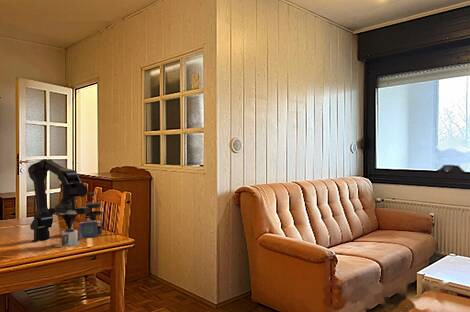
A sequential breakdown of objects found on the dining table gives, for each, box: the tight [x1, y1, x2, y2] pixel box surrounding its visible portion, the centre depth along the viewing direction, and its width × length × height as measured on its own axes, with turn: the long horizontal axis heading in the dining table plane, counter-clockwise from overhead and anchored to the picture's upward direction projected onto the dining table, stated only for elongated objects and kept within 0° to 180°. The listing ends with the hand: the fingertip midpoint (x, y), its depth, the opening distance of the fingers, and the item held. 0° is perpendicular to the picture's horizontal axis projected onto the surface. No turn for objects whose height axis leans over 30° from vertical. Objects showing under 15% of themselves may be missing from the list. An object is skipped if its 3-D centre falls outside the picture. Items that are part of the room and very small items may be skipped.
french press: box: [83, 192, 107, 235], centre depth 200 cm, size 12×9×23 cm
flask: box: [78, 217, 99, 240], centre depth 188 cm, size 9×3×11 cm, turn 121°
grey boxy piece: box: [60, 229, 79, 246], centre depth 173 cm, size 7×9×6 cm
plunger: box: [64, 226, 74, 232], centre depth 174 cm, size 4×4×6 cm
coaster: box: [53, 241, 84, 248], centre depth 174 cm, size 10×10×1 cm
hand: (69, 228), depth 174 cm, fingers closed, pressing on plunger
